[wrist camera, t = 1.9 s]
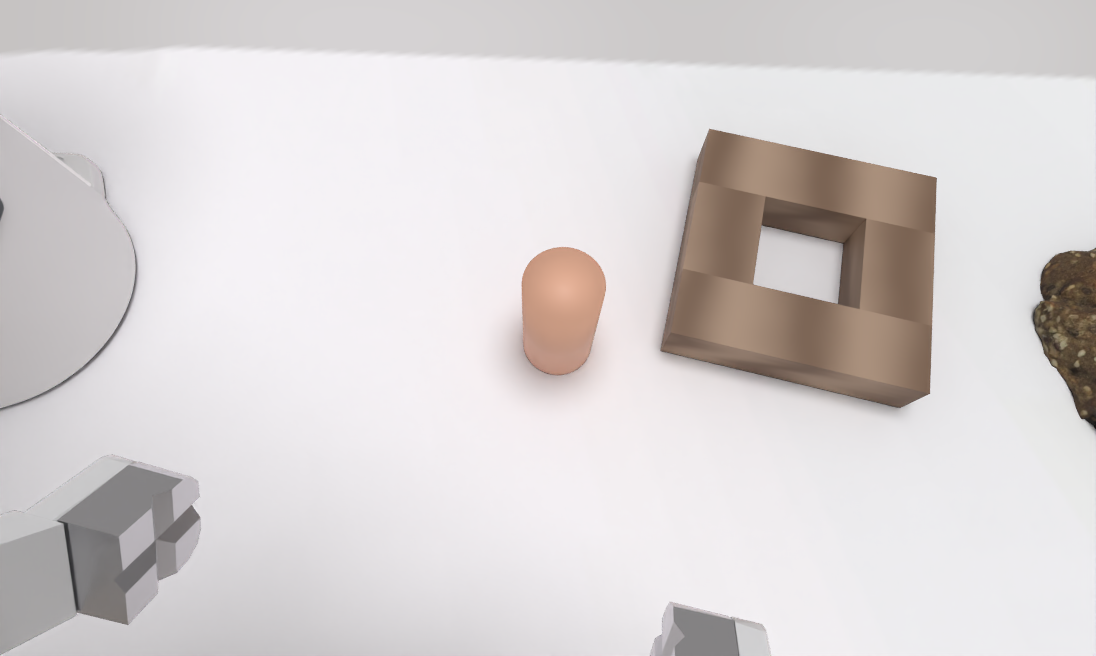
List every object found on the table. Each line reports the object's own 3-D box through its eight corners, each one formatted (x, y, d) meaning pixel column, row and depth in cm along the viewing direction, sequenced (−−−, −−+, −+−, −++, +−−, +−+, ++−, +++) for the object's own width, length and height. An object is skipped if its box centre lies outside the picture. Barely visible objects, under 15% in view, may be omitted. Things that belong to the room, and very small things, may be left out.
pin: (515, 365, 38) (512, 312, 30) (532, 304, 39) (533, 239, 32) (582, 382, 38) (595, 332, 30) (597, 319, 39) (613, 257, 32)
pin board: (660, 350, 38) (670, 332, 36) (697, 158, 43) (709, 128, 41) (900, 408, 37) (929, 393, 35) (909, 204, 43) (936, 177, 40)
